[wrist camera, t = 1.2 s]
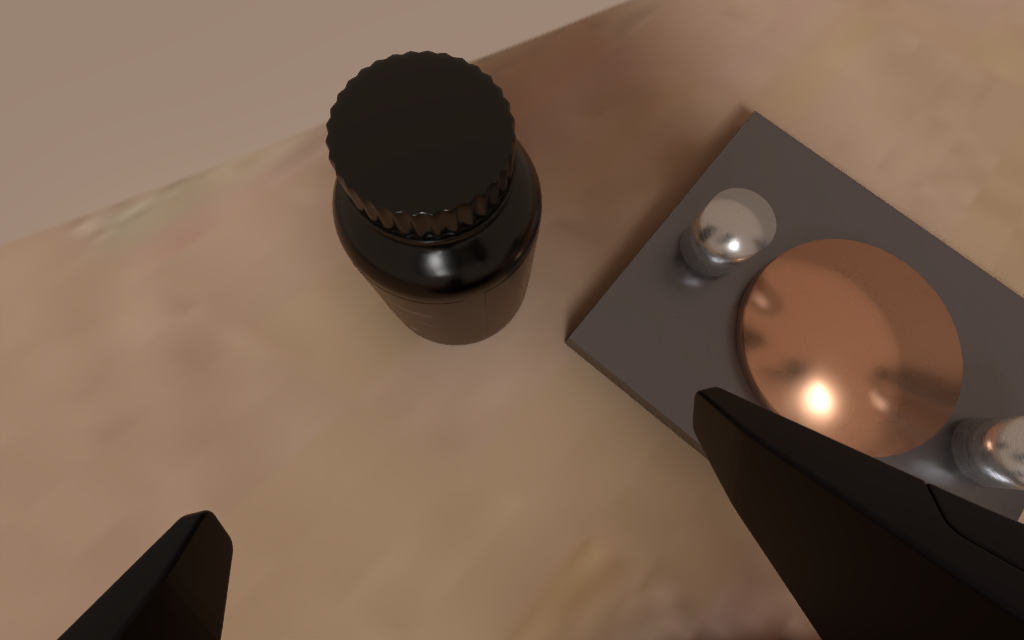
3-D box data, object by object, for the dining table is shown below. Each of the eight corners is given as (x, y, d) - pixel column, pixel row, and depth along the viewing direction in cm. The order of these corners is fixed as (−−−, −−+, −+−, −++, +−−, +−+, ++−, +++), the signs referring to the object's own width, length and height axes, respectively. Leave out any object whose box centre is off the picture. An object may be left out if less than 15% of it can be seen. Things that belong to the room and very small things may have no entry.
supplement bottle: (449, 191, 25) (413, -30, 13) (553, 271, 24) (615, 113, 12) (356, 289, 23) (223, 139, 12) (464, 378, 22) (439, 313, 11)
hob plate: (1071, 357, 24) (1190, 340, 20) (927, 637, 21) (1034, 686, 17) (743, 125, 26) (789, 68, 22) (564, 342, 23) (581, 322, 19)
